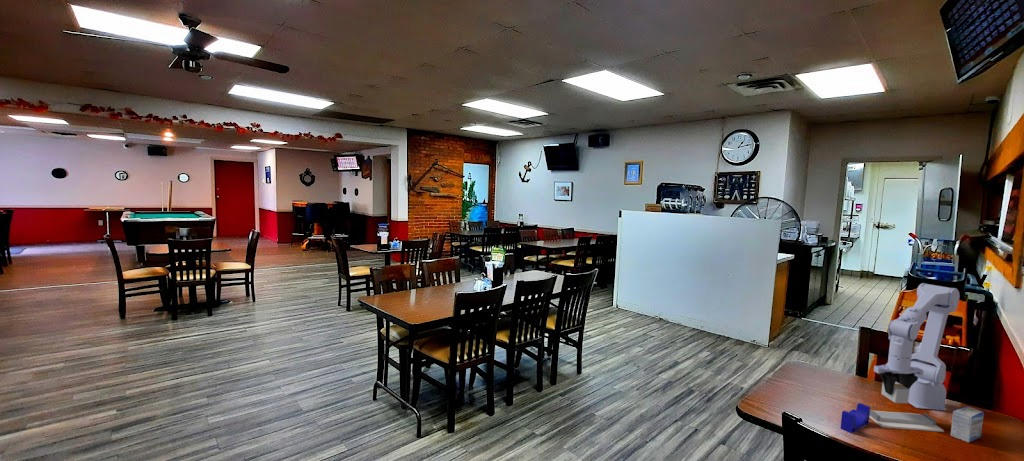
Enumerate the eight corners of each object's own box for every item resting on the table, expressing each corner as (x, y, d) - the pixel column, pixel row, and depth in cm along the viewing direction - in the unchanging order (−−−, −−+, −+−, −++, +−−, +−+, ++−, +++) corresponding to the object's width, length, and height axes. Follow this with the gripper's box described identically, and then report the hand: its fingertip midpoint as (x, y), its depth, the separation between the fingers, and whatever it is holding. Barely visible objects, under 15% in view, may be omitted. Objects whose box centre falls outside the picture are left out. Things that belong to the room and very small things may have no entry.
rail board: (918, 415, 148) (919, 409, 148) (943, 432, 138) (944, 425, 138) (861, 411, 150) (862, 404, 150) (882, 427, 140) (882, 420, 140)
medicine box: (968, 443, 132) (972, 417, 131) (949, 435, 136) (953, 410, 135) (981, 437, 135) (984, 411, 134) (961, 430, 139) (965, 405, 138)
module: (893, 394, 149) (895, 380, 149) (907, 403, 143) (909, 389, 143) (881, 393, 150) (882, 380, 149) (895, 402, 144) (897, 388, 143)
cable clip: (852, 417, 147) (854, 400, 146) (868, 423, 143) (870, 406, 142) (835, 426, 141) (836, 409, 140) (851, 433, 137) (853, 416, 136)
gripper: (912, 351, 148) (908, 388, 149) (868, 350, 149) (864, 387, 150) (930, 359, 141) (926, 398, 142) (884, 358, 142) (880, 396, 143)
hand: (895, 393), depth 146 cm, fingers closed on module, 4 cm apart
